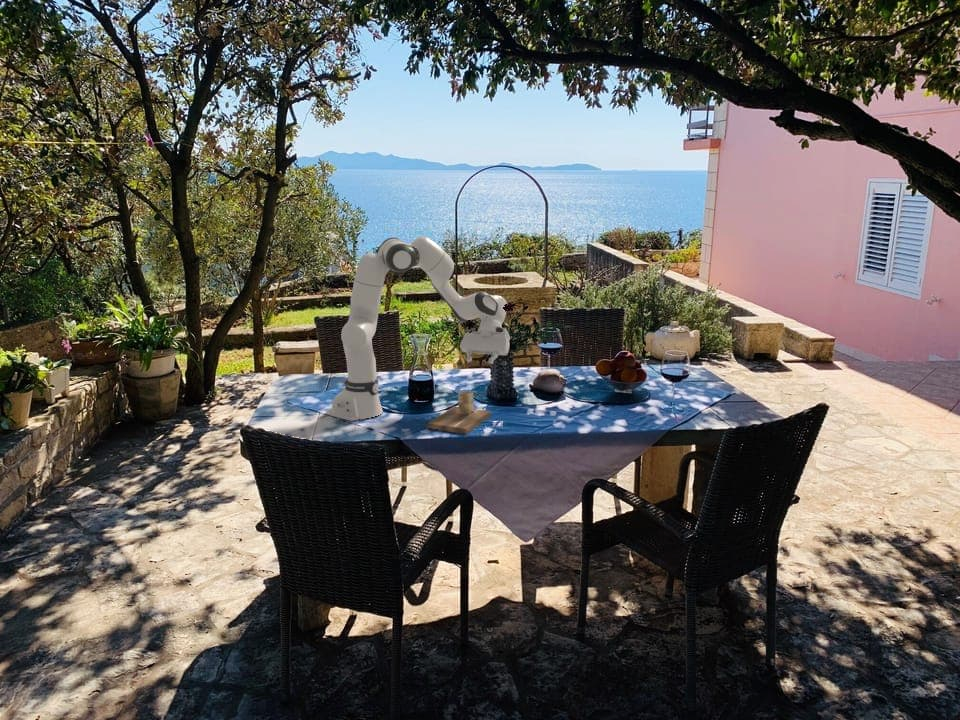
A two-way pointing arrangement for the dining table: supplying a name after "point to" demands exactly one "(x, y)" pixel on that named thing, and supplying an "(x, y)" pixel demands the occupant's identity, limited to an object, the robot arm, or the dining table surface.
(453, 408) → the board
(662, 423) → the dining table surface
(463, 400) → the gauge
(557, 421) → the dining table surface
